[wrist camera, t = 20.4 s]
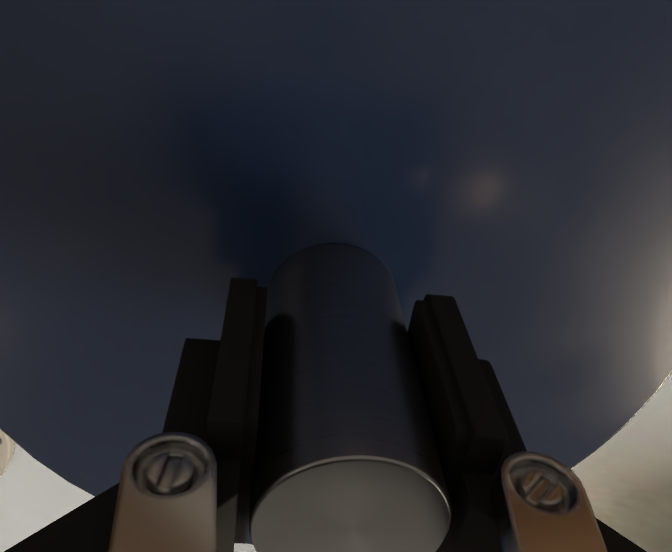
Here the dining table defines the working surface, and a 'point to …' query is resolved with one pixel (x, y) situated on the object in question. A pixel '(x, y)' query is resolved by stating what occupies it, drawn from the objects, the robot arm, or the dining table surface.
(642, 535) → the dining table surface
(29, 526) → the dining table surface
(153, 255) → the lid
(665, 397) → the dining table surface
